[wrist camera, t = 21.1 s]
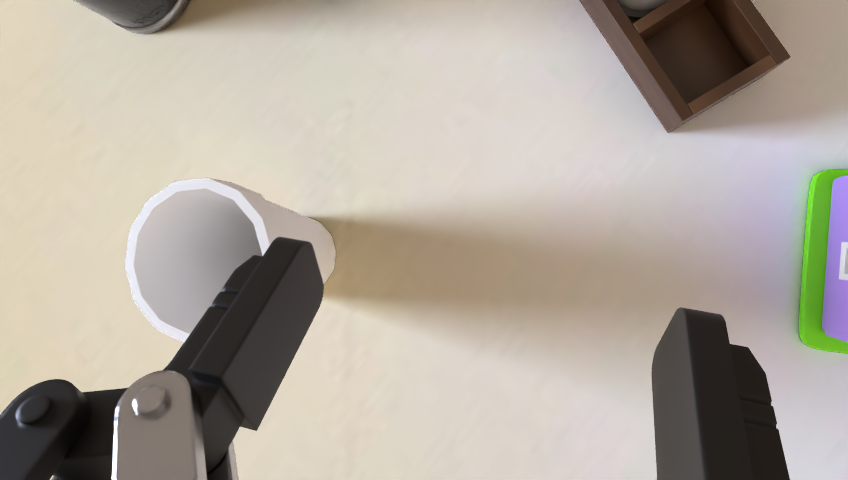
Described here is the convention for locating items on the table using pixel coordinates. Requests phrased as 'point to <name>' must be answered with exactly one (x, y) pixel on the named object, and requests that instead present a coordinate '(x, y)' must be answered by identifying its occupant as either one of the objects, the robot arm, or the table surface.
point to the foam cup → (205, 247)
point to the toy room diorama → (826, 264)
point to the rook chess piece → (640, 6)
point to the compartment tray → (689, 52)
